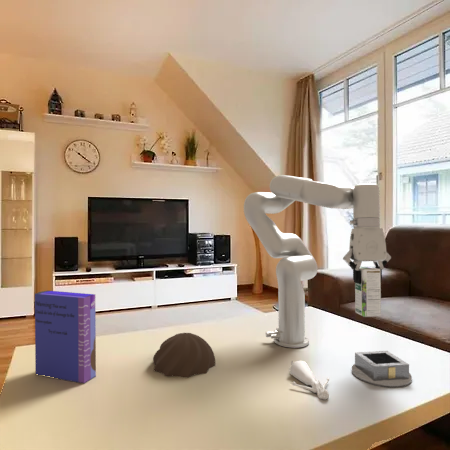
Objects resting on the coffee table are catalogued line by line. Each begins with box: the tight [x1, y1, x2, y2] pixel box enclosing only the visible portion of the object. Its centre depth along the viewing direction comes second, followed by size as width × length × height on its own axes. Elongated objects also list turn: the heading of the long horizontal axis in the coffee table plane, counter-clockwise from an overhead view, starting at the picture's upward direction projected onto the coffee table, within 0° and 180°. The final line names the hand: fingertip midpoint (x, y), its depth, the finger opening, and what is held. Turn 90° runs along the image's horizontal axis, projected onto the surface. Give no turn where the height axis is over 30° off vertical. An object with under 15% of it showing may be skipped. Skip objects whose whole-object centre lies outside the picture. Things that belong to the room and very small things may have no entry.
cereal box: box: [34, 290, 97, 385], centre depth 103 cm, size 17×5×24 cm, turn 71°
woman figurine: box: [288, 359, 330, 400], centre depth 98 cm, size 12×4×18 cm
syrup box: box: [354, 266, 382, 318], centre depth 110 cm, size 6×6×14 cm
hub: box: [351, 350, 413, 388], centre depth 104 cm, size 16×16×5 cm
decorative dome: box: [152, 332, 216, 379], centre depth 112 cm, size 19×20×10 cm
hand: (367, 281), depth 110 cm, fingers closed on syrup box, 5 cm apart
